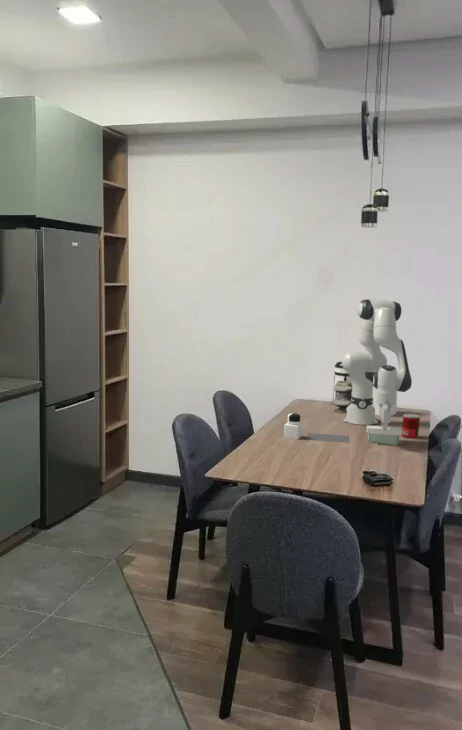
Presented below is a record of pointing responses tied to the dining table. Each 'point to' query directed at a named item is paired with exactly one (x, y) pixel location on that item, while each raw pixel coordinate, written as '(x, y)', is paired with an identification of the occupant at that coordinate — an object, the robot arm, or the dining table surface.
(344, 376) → the coffee press
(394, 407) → the milk
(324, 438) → the mat
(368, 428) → the lid
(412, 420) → the canned food
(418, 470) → the dining table surface
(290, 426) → the medicine bottle
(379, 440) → the pale green open box
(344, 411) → the apothecary jar
